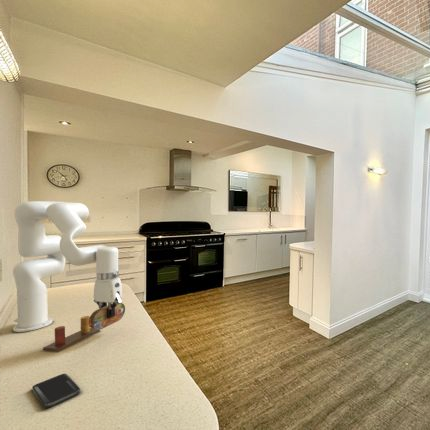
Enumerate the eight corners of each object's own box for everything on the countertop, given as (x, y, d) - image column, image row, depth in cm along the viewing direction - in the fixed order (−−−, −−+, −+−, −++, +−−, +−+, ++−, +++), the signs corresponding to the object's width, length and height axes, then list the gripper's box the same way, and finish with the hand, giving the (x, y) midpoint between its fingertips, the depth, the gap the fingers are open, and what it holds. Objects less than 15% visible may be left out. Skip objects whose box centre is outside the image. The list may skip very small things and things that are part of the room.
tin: (92, 333, 108) (94, 313, 107) (86, 332, 108) (87, 312, 108) (125, 317, 123) (126, 300, 122) (119, 316, 123) (120, 299, 123)
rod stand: (42, 350, 104) (42, 331, 104) (86, 330, 121) (86, 313, 121) (57, 351, 103) (57, 332, 103) (99, 331, 120) (99, 314, 120)
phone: (45, 406, 74) (31, 385, 82) (45, 409, 74) (31, 389, 82) (81, 389, 81) (65, 372, 89) (81, 393, 81) (65, 375, 89)
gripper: (131, 274, 117) (131, 315, 118) (99, 272, 119) (99, 311, 120) (116, 279, 110) (116, 322, 111) (82, 276, 112) (82, 318, 113)
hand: (107, 316), depth 115 cm, fingers closed on tin, 2 cm apart
